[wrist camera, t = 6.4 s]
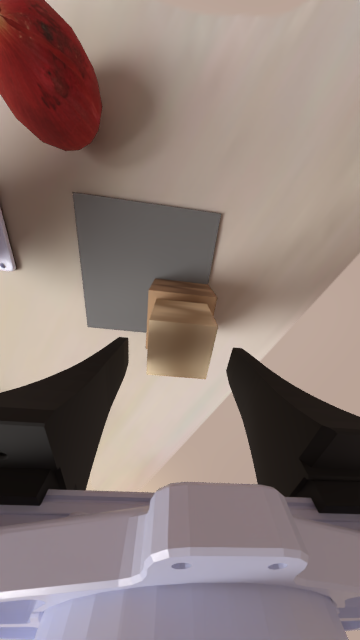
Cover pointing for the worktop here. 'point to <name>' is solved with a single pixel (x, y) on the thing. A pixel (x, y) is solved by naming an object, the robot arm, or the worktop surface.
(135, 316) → the mat
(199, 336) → the cube
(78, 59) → the red round fruit
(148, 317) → the tower top
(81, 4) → the worktop surface
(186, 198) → the worktop surface
